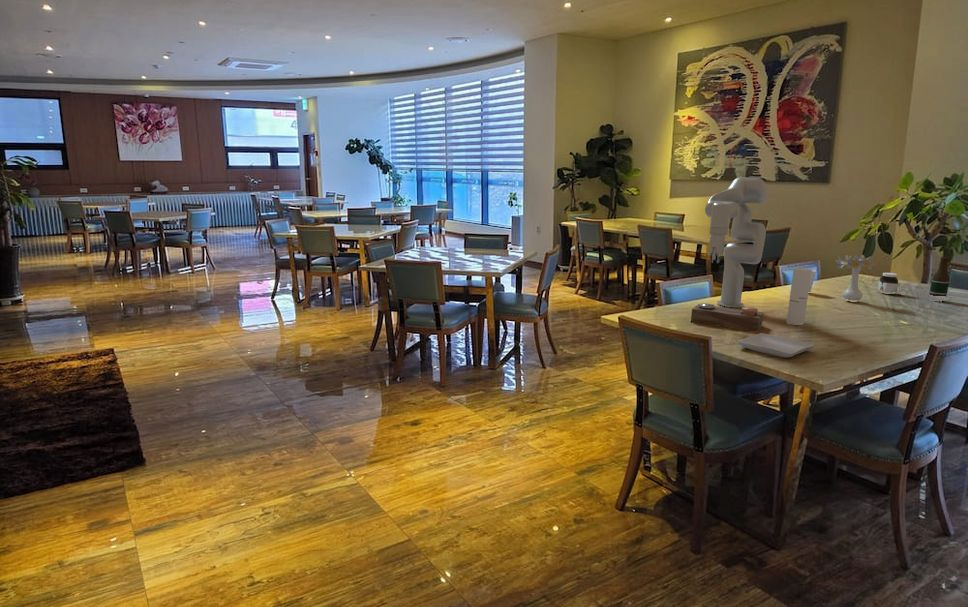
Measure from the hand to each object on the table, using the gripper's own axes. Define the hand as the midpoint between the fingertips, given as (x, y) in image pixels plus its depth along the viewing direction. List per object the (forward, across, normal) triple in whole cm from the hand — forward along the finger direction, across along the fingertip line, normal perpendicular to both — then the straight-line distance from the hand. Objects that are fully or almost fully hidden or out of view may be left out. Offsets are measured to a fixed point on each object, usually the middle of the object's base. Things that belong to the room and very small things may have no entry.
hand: (714, 271), depth 278 cm
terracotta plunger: (+20, +4, +17) cm, 27 cm away
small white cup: (+21, +4, -1) cm, 21 cm away
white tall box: (+23, -15, +34) cm, 43 cm away
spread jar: (+27, -125, +71) cm, 146 cm away
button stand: (+22, +4, +8) cm, 24 cm away
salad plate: (+22, +35, +32) cm, 52 cm away
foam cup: (+26, -98, +29) cm, 105 cm away
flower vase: (+25, -87, +52) cm, 105 cm away
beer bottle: (+26, -119, +92) cm, 153 cm away
